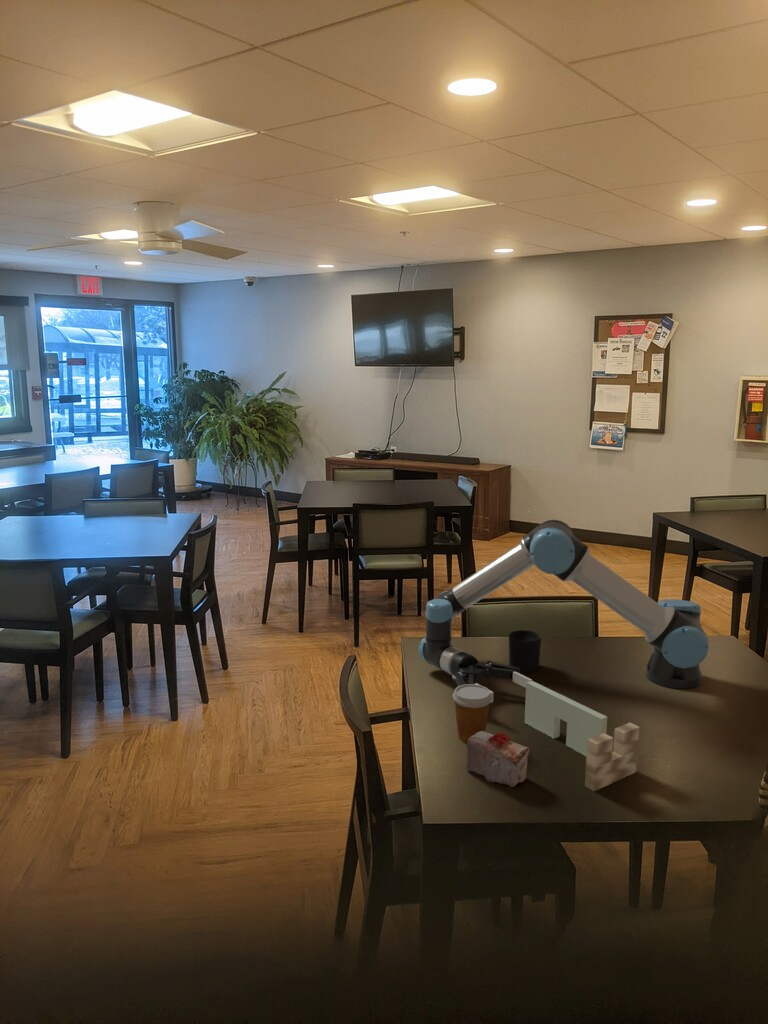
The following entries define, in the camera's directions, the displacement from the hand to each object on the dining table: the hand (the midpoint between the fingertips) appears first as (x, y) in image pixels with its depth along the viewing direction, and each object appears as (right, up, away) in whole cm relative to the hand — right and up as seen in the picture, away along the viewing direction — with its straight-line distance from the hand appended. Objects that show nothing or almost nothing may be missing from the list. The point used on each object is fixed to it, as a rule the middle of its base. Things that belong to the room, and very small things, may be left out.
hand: (511, 691), depth 201 cm
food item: (-8, -13, -28) cm, 32 cm away
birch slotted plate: (+17, -13, -30) cm, 36 cm away
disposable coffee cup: (-12, -9, -11) cm, 18 cm away
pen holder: (+9, 0, +31) cm, 32 cm away
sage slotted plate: (+10, -9, -13) cm, 19 cm away
